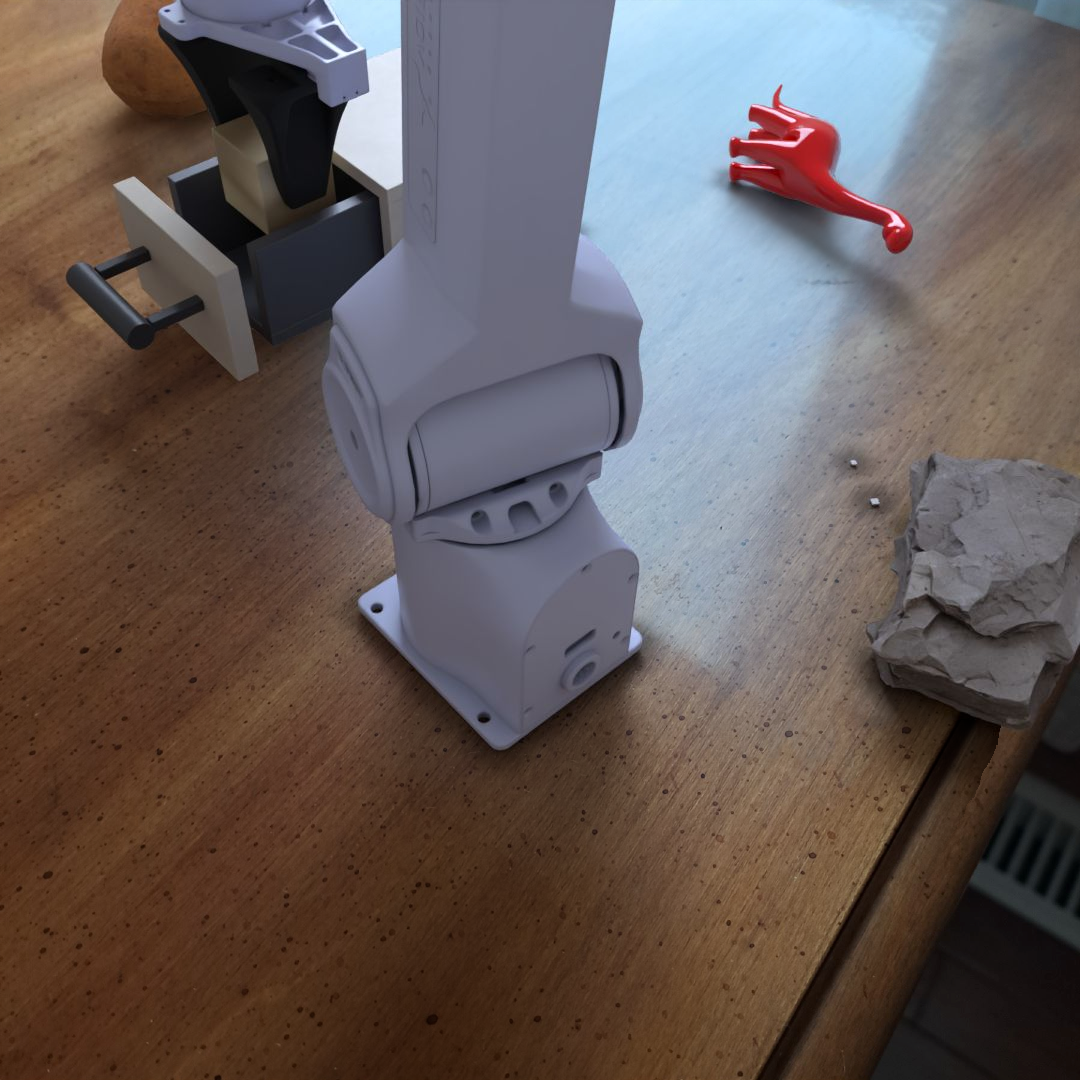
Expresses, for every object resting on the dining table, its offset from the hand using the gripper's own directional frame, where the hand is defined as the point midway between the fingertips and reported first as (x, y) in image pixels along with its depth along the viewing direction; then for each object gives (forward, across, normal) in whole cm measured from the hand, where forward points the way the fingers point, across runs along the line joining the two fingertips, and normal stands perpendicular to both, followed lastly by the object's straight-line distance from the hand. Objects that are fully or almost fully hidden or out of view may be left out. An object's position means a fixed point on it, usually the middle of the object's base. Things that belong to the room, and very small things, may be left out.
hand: (279, 178), depth 58 cm
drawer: (+6, 0, -3) cm, 7 cm away
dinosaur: (+6, +6, +27) cm, 29 cm away
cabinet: (+7, 0, +9) cm, 12 cm away
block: (+1, 0, 0) cm, 1 cm away
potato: (+7, -21, +6) cm, 23 cm away
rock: (+4, +31, +10) cm, 32 cm away
